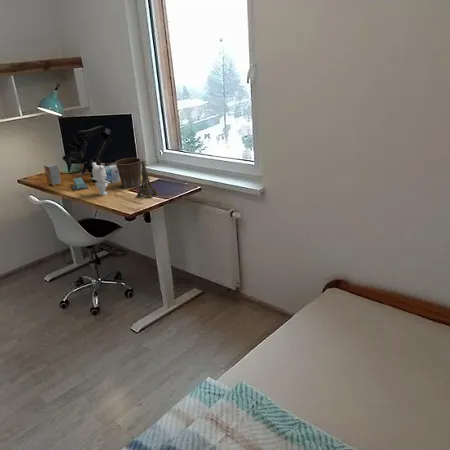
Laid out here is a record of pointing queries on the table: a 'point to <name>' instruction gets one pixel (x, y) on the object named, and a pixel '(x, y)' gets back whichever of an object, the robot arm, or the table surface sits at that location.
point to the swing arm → (79, 182)
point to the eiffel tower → (145, 183)
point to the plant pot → (129, 172)
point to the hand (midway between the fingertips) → (75, 173)
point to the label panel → (79, 188)
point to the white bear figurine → (100, 178)
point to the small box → (52, 174)
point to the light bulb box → (112, 174)
